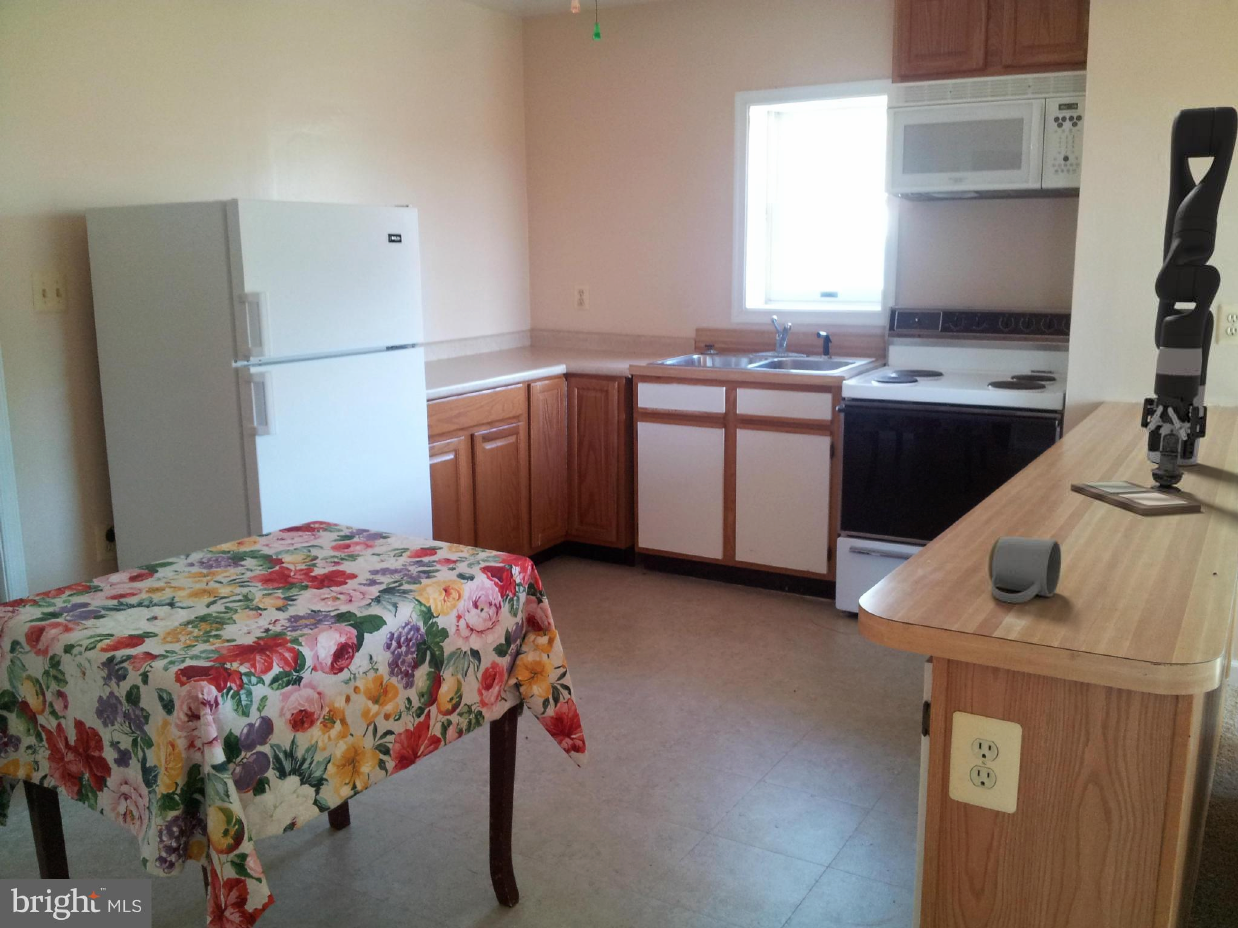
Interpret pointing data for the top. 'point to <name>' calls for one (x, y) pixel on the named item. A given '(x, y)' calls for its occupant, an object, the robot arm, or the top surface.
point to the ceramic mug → (1024, 567)
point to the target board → (1135, 497)
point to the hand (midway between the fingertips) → (1169, 455)
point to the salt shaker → (1168, 465)
